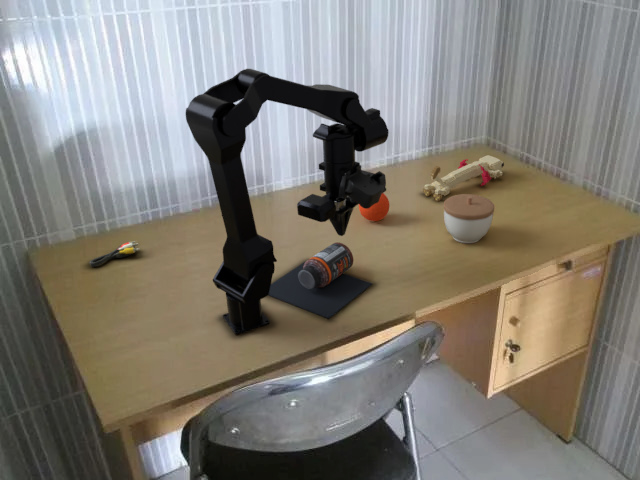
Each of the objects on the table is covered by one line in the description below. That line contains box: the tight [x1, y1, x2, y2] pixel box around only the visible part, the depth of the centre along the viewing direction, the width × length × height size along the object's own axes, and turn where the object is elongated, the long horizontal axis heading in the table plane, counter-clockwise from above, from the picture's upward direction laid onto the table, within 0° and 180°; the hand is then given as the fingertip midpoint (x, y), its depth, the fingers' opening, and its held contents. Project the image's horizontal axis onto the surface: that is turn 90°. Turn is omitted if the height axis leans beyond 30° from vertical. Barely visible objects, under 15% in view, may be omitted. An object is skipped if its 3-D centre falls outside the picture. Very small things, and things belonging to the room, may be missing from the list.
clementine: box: [358, 192, 390, 222], centre depth 153 cm, size 8×7×7 cm
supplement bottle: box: [298, 241, 354, 289], centre depth 130 cm, size 6×6×11 cm
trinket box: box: [443, 193, 495, 244], centre depth 145 cm, size 11×11×9 cm
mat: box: [267, 260, 373, 320], centre depth 129 cm, size 14×16×1 cm
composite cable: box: [89, 240, 141, 267], centre depth 137 cm, size 10×5×2 cm, turn 123°
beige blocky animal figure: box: [422, 155, 505, 202], centre depth 169 cm, size 10×9×25 cm
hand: (341, 234), depth 131 cm, fingers closed
